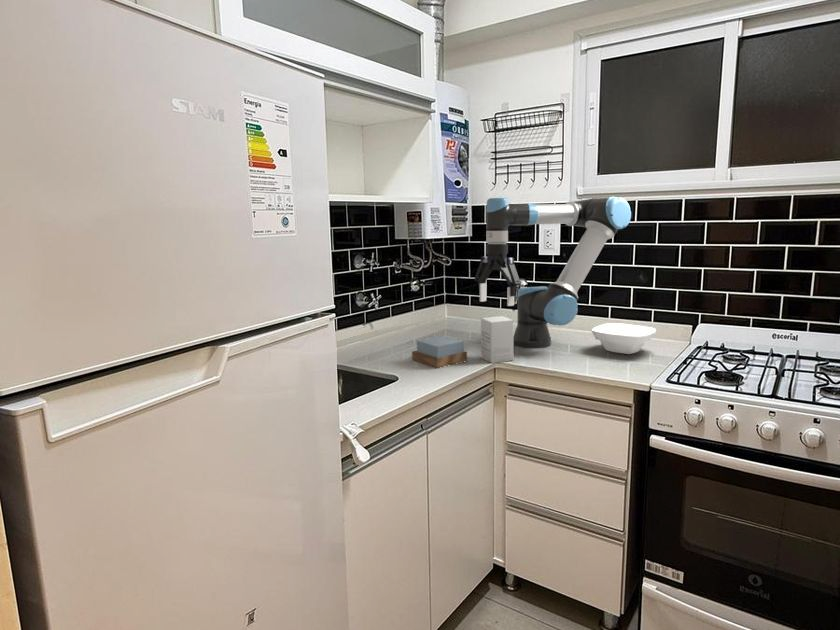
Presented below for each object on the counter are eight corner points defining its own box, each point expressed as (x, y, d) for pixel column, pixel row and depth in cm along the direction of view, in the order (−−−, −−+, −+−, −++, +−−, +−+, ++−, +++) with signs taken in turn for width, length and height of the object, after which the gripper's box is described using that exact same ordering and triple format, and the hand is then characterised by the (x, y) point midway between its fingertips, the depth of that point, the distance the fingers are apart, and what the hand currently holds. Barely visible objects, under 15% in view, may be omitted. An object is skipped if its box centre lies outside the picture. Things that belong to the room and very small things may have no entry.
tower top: (442, 346, 200) (442, 335, 199) (464, 352, 190) (464, 341, 190) (417, 351, 193) (416, 340, 192) (437, 358, 183) (437, 346, 183)
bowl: (607, 342, 214) (608, 321, 212) (661, 350, 200) (662, 328, 198) (584, 352, 199) (584, 330, 197) (639, 362, 185) (641, 338, 183)
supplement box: (502, 354, 199) (502, 315, 196) (514, 360, 190) (514, 319, 188) (480, 357, 196) (480, 317, 193) (490, 363, 188) (490, 321, 185)
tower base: (442, 355, 202) (441, 345, 202) (467, 362, 191) (466, 351, 191) (412, 361, 194) (412, 351, 193) (436, 370, 183) (436, 358, 182)
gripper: (464, 242, 193) (464, 300, 197) (516, 244, 174) (515, 308, 177) (479, 241, 198) (479, 298, 201) (531, 243, 178) (530, 306, 182)
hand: (496, 303), depth 189 cm, fingers open, 13 cm apart
